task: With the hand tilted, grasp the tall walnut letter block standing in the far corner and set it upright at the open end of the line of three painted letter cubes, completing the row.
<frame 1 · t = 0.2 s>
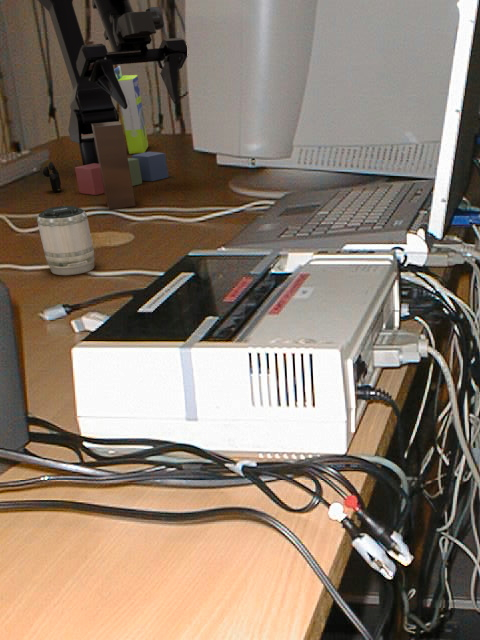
hand: (151, 105, 155), 15 cm above the table, tool tilted 35°, fingers open, 9 cm apart
cube a: (152, 178, 176), on the table
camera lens: (73, 270, 121), on the table
cube c: (97, 191, 167), on the table
cube b: (125, 184, 172), on the table
tall block: (121, 205, 156), on the table
box: (138, 151, 208), on the table
wireless earbuds: (54, 192, 169), on the table
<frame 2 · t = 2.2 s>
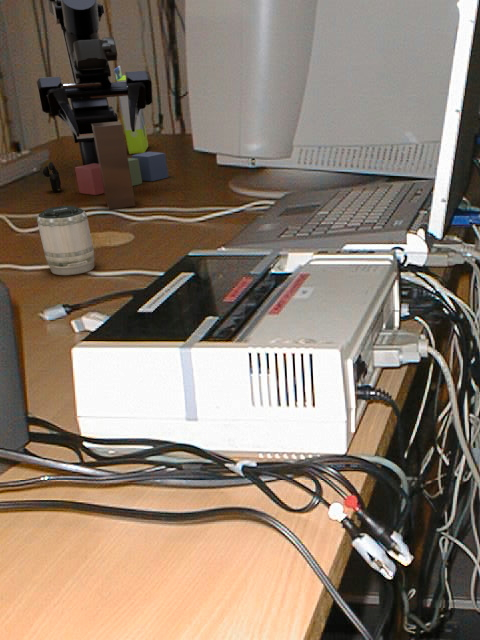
hand: (106, 132, 154), 11 cm above the table, tool tilted 45°, fingers open, 9 cm apart
nothing on the table moved.
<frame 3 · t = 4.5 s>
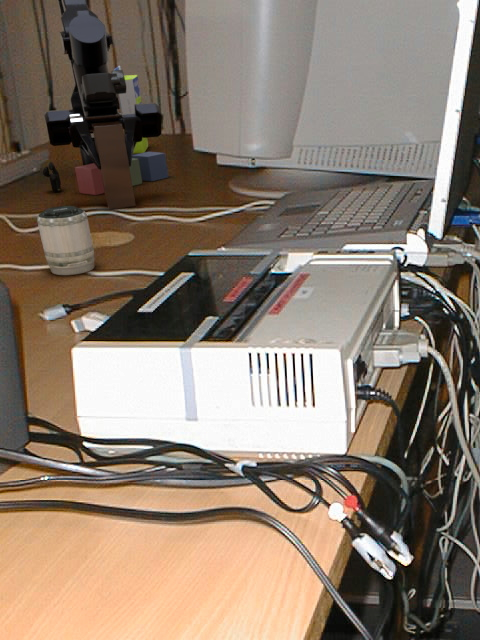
hand: (114, 166, 151), 7 cm above the table, tool tilted 45°, fingers closed on tall block, 4 cm apart
tall block: (121, 205, 156), on the table, touching gripper
everything else where it was.
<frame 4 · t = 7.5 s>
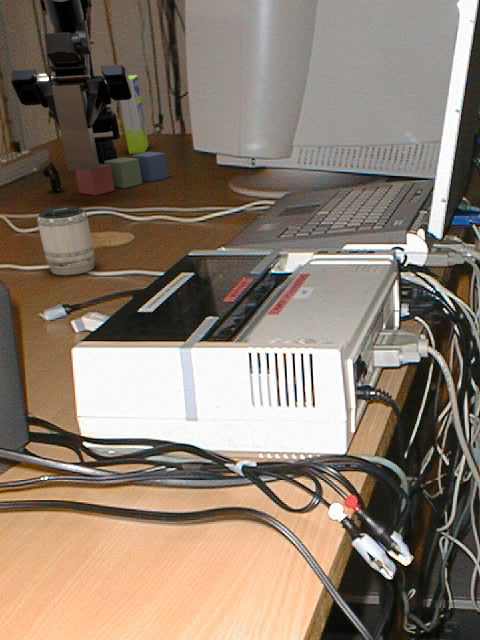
hand: (74, 127, 151), 12 cm above the table, tool tilted 45°, fingers closed on tall block, 4 cm apart
tall block: (83, 167, 156), point 6 cm above the table, touching gripper
everything else where it was.
when the fingers open (7 cm above the table, at t = 10.8 s): tall block stays where it is, on the table.
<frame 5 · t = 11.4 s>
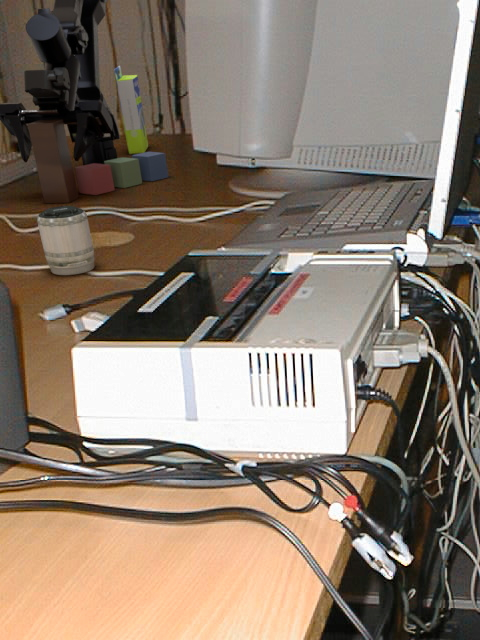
hand: (49, 160, 157), 7 cm above the table, tool tilted 45°, fingers open, 9 cm apart
tall block: (61, 200, 161), on the table
everything else where it was.
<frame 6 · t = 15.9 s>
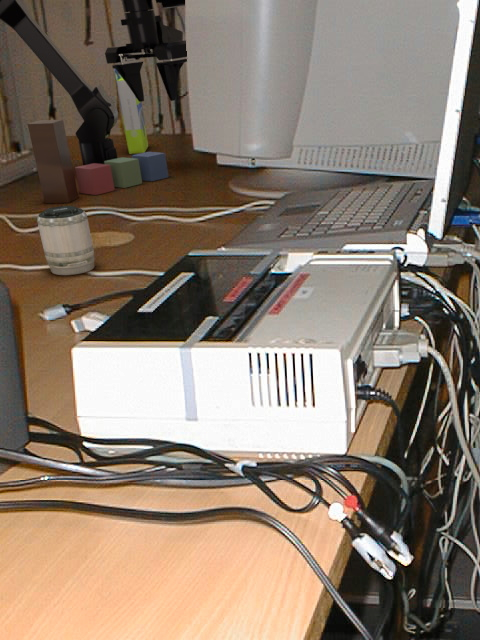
hand: (157, 101, 179), 13 cm above the table, tool pointing down, fingers open, 9 cm apart
nothing on the table moved.
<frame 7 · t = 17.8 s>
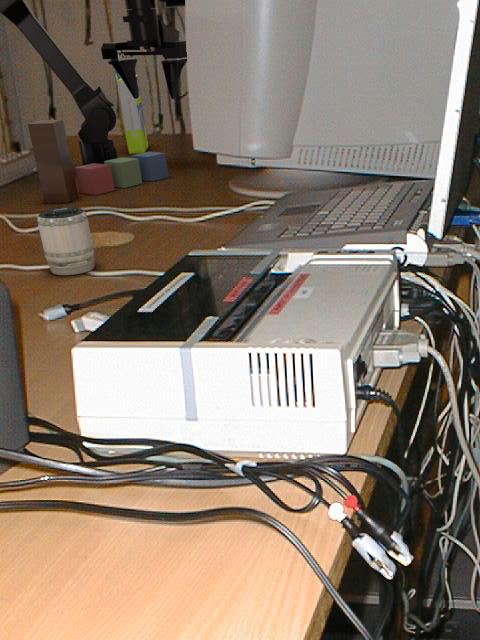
hand: (154, 98, 180), 13 cm above the table, tool pointing down, fingers open, 9 cm apart
nothing on the table moved.
at the end: tall block 0.0 cm from the target spot on the table beside the cube a, on the table; tall block 8.0 cm from the cube c (horizontally); tall block tilted 0° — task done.
